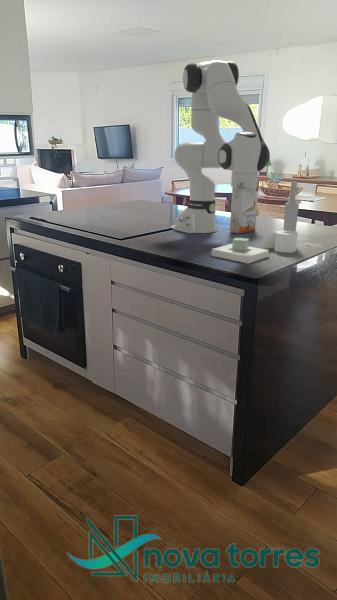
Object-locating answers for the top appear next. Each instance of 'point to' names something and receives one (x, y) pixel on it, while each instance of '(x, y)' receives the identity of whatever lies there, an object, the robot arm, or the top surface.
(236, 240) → the plug
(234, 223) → the cracker box
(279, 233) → the toilet paper
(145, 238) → the top surface
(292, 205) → the bottle
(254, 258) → the socket plate
